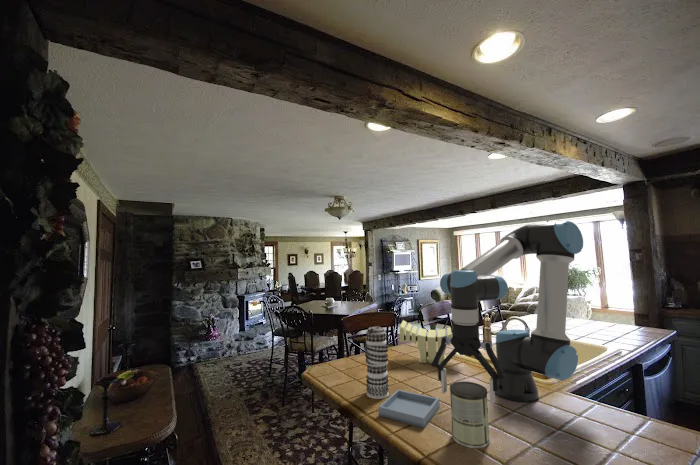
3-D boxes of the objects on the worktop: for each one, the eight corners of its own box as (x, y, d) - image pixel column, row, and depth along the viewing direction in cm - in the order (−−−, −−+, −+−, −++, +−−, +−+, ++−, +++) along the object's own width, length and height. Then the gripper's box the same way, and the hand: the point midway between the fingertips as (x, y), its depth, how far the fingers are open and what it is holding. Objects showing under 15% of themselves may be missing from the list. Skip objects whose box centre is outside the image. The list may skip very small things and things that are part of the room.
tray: (439, 407, 113) (439, 398, 113) (424, 428, 100) (423, 418, 100) (398, 397, 121) (397, 389, 121) (378, 416, 108) (378, 406, 108)
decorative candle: (364, 398, 121) (362, 330, 122) (366, 388, 130) (365, 325, 132) (389, 399, 119) (387, 330, 121) (389, 389, 129) (387, 325, 130)
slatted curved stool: (400, 363, 158) (399, 326, 159) (404, 353, 174) (403, 320, 175) (465, 368, 150) (464, 328, 152) (463, 357, 166) (461, 321, 167)
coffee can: (446, 429, 99) (444, 381, 100) (480, 428, 99) (478, 380, 100) (459, 449, 88) (457, 396, 89) (496, 448, 89) (493, 395, 90)
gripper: (513, 324, 93) (516, 401, 91) (428, 316, 106) (430, 383, 104) (510, 329, 86) (513, 412, 85) (420, 320, 100) (421, 392, 98)
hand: (467, 397), depth 95 cm, fingers open, 13 cm apart
